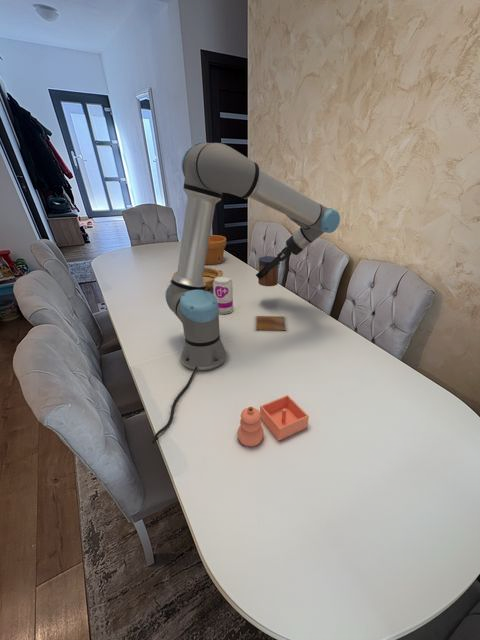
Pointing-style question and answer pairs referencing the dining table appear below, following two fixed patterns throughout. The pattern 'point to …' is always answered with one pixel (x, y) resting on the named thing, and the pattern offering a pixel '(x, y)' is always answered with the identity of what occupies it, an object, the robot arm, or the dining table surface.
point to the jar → (269, 276)
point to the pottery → (271, 421)
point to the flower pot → (215, 249)
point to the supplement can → (223, 294)
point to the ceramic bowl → (209, 276)
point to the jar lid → (266, 260)
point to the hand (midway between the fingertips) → (261, 273)
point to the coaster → (270, 323)
